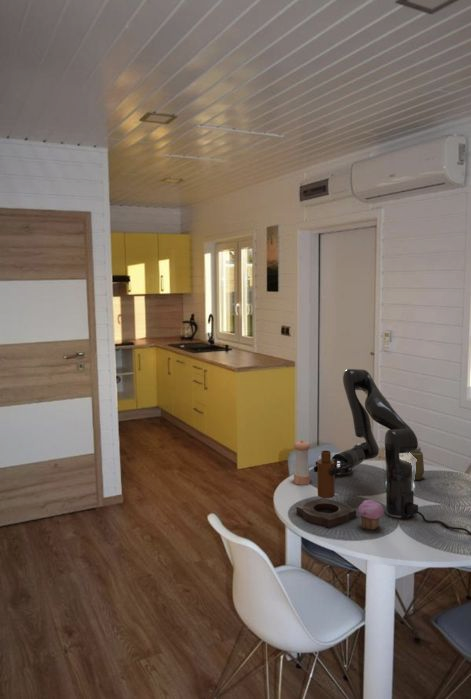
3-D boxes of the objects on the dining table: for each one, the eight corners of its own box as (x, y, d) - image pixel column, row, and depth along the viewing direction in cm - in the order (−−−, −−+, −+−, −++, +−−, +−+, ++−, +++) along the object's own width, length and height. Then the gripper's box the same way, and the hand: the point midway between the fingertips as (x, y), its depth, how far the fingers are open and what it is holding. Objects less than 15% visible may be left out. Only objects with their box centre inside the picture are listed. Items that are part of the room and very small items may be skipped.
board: (360, 516, 218) (360, 509, 218) (327, 529, 207) (327, 521, 207) (324, 503, 233) (324, 496, 232) (292, 514, 221) (292, 507, 221)
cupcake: (364, 520, 214) (364, 495, 213) (386, 526, 210) (386, 499, 208) (354, 529, 207) (354, 502, 206) (377, 534, 202) (378, 507, 201)
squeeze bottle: (402, 476, 263) (402, 437, 261) (417, 474, 266) (417, 436, 264) (412, 481, 256) (413, 442, 254) (428, 479, 258) (428, 440, 256)
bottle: (338, 495, 219) (338, 451, 217) (326, 499, 215) (326, 455, 213) (325, 490, 224) (325, 448, 222) (314, 494, 220) (313, 451, 218)
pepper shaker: (305, 478, 263) (305, 437, 261) (313, 483, 256) (312, 441, 254) (291, 480, 260) (290, 439, 258) (298, 485, 253) (298, 443, 251)
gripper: (330, 448, 233) (306, 458, 221) (361, 454, 223) (339, 465, 211) (330, 465, 234) (306, 476, 222) (361, 473, 224) (339, 485, 212)
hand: (322, 471), depth 216 cm, fingers closed on bottle, 6 cm apart
